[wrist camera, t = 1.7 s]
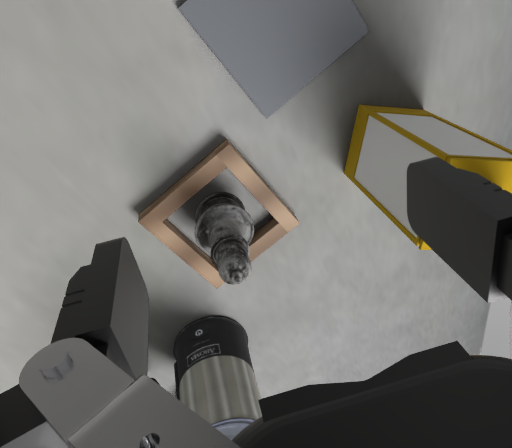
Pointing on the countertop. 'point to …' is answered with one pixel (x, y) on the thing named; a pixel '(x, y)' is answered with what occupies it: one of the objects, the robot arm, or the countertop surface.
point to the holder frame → (195, 181)
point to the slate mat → (275, 41)
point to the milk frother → (217, 374)
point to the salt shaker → (225, 235)
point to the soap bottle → (415, 156)
